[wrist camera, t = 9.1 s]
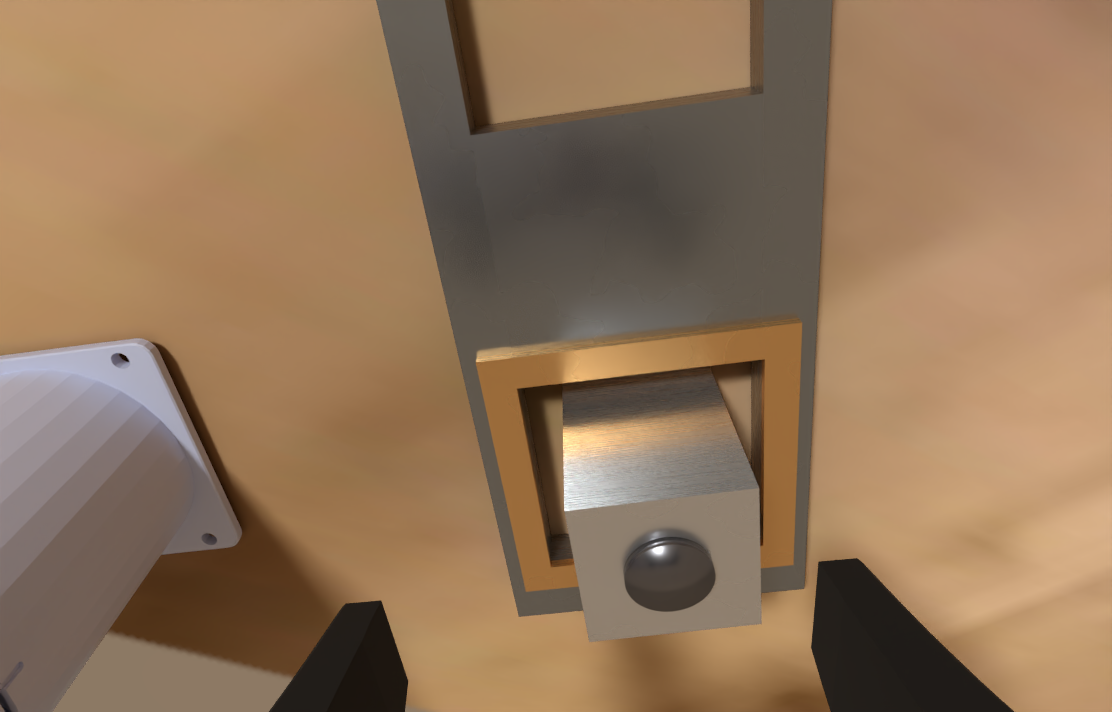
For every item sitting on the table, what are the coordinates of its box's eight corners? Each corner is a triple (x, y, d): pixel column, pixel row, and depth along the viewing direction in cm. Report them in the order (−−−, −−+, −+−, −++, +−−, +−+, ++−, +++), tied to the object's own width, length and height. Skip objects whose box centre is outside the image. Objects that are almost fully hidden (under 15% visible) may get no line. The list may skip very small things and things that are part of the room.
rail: (520, 590, 25) (518, 623, 24) (304, -369, 13) (277, -408, 12) (793, 563, 25) (806, 595, 24) (831, -470, 13) (863, -524, 11)
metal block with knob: (581, 494, 23) (589, 651, 18) (562, 381, 21) (564, 519, 16) (714, 478, 23) (764, 633, 18) (707, 362, 21) (762, 496, 15)
